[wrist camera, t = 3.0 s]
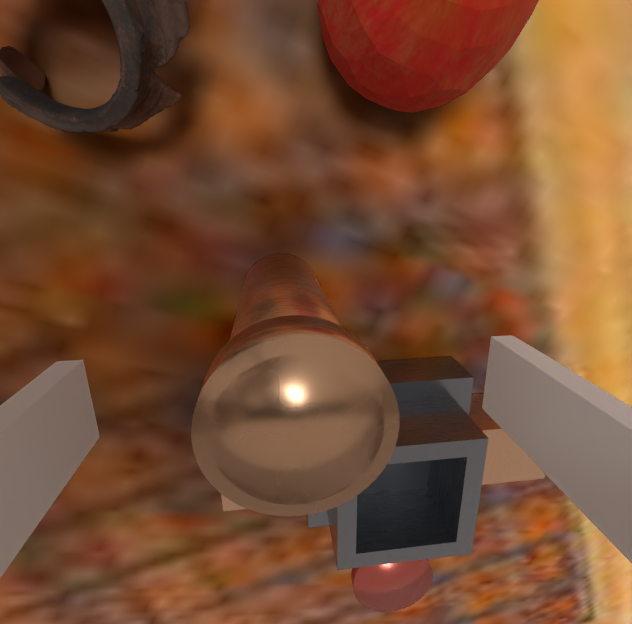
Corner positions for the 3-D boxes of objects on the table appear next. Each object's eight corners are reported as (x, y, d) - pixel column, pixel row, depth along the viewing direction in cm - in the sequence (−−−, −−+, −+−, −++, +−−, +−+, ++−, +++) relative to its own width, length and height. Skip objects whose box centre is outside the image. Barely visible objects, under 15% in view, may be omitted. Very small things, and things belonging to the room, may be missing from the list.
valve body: (238, 553, 29) (230, 663, 22) (220, 371, 24) (201, 441, 17) (493, 524, 31) (554, 616, 24) (521, 351, 26) (607, 407, 19)
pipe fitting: (240, 333, 23) (203, 526, 10) (233, 247, 22) (177, 344, 9) (325, 329, 24) (394, 506, 11) (324, 244, 22) (405, 331, 9)
